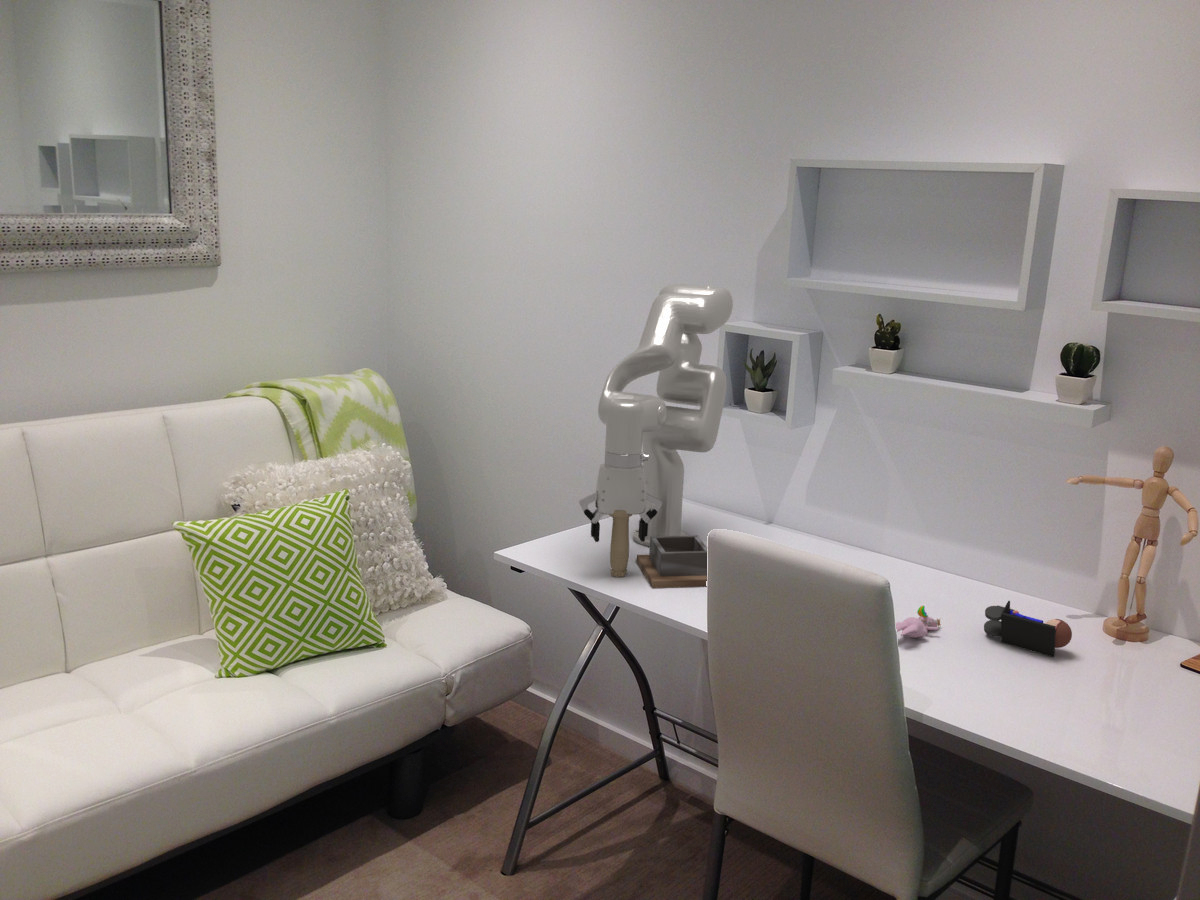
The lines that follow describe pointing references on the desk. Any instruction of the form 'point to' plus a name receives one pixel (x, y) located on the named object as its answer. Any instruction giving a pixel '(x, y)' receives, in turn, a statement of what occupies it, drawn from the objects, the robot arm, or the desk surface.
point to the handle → (619, 543)
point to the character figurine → (1026, 630)
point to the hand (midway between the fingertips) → (618, 539)
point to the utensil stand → (675, 562)
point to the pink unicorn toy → (918, 624)
